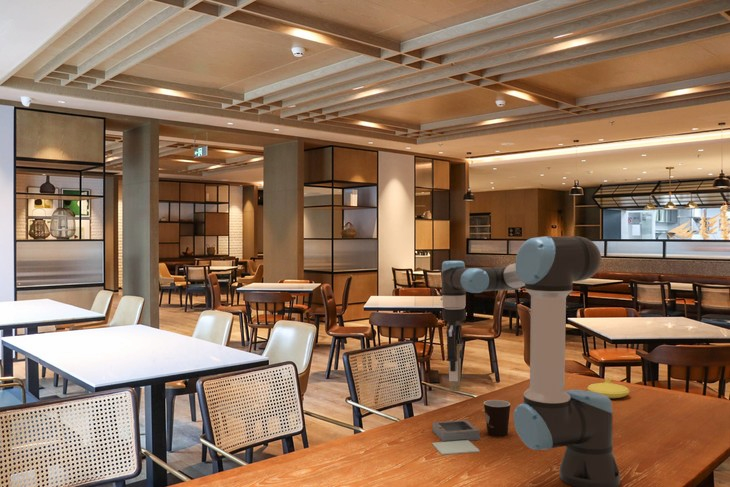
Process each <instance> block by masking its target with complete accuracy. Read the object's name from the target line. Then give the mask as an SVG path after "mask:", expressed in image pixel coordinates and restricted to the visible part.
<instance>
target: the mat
mask: <svg viewBox="0 0 730 487" xmlns="http://www.w3.org/2000/svg"><path fill="white" fill-rule="evenodd" d="M431 445H432V446H433V447H434V449H436V451H437V452H438V453H440V455H441V456H444V455H445V456H446V455H460V454H470V453H480V452H481V450H480V449H479V448H478V447H477V446H475V444H473V443H472V442H471V441H469V440H462V441H450V442H443V441H440V442H439V441H438V442H432V443H431Z"/></svg>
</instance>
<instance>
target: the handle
mask: <svg viewBox="0 0 730 487" xmlns="http://www.w3.org/2000/svg"><path fill="white" fill-rule="evenodd" d="M455 347H456V350H457V361H458V381H449V380H448V382H449V390H450V391H453V392H458V391H461V383H462V382H461V380H462V379H461V377H462V376H461V375H462V374H461V373H462V371H461V370H462V369H460V365H461V358H460V350H461V351H462V349H463V344H462V343H461V344H457V346H455Z"/></svg>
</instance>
